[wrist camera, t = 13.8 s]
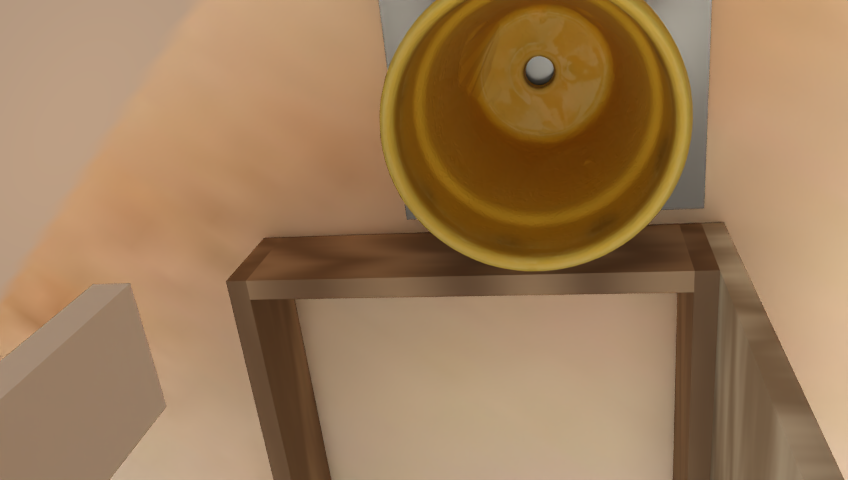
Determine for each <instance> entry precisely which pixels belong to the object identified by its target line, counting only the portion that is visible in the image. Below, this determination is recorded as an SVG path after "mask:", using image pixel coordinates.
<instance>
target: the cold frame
mask: <svg viewBox="0 0 848 480" xmlns="http://www.w3.org/2000/svg"><path fill="white" fill-rule="evenodd" d="M226 283H227V288H228V292H229V296H230V300H231V304H232V308H233V313H234V317H235V321H236V325H237V329H238V333H239V338H240V342H241V346H242V350H243V354H244V358H245V363H246V367H247V371H248V375H249V379H250V383H251V387H252V392H253V396H254V400H255V404H256V408H257V412H258V417H259V421H260V425H261V429H262V433H263V437H264V442H265V446H266V450H267V454H268V458H269V462H270V467H271V471H272V475H273V479H274V480H331V477H330V472H329V467H328V462H327V457H326V452H325V447H324V443H323V438H322V433H321V428H320V423H319V418H318V413H317V408H316V403H315V398H314V393H313V388H312V383H311V378H310V373H309V368H308V363H307V358H306V354H305V349H304V344H303V339H302V334H301V329H300V324H299V319H298V314H297V309H296V304H295V299H323V298H384V297H444V296H504V295H564V294H625V293H677V334H676V376H675V417H674V459H673V480H844V478H843V476H842V474H841V472H840V470H839V467H838V465H837V463H836V461H835V459H834V457H833V455H832V452H831V450H830V448H829V446H828V444H827V442H826V440H825V437H824V435H823V433H822V431H821V429H820V427H819V425H818V423H817V420H816V418H815V416H814V414H813V412H812V410H811V408H810V405H809V403H808V401H807V399H806V397H805V395H804V393H803V391H802V388H801V386H800V384H799V382H798V380H797V378H796V376H795V373H794V371H793V369H792V367H791V365H790V363H789V361H788V359H787V356H786V354H785V352H784V350H783V348H782V346H781V344H780V341H779V339H778V337H777V335H776V333H775V331H774V329H773V326H772V324H771V322H770V320H769V318H768V316H767V314H766V312H765V309H764V307H763V305H762V303H761V301H760V299H759V297H758V294H757V292H756V290H755V288H754V286H753V284H752V282H751V280H750V277H749V275H748V273H747V271H746V269H745V267H744V265H743V262H742V260H741V258H740V256H739V254H738V252H737V250H736V248H735V245H734V243H733V241H732V239H731V237H730V235H729V233H728V230H727V228H726V226H725V224H724V223H694V224H665V225H647V226H646V227H645V228H644V229H642V230H641V231H640V232H639V233H638V234H637V235H636V236H634V237H633V238H632V239H630V240H629V241H628V242H626V243H625V244H623V245H622V246H620V247H619V248H617V249H615V250H614V251H612V252H610V253H608V254H606V255H604V256H602V257H600V258H597V259H594V260H592V261H590V262H587V263H583V264H580V265H577V266H573V267H569V268H564V269H558V270H549V271H517V270H510V269H504V268H499V267H495V266H492V265H488V264H484V263H482V262H479V261H476V260H474V259H472V258H470V257H468V256H465V255H463V254H461V253H460V252H458V251H456V250H454V249H453V248H451V247H450V246H448V245H447V244H445V243H444V242H442V241H441V240H439V239H438V238H437V237H436V236H434V235H433V234H432V233H431V232H430V233H400V234H371V235H342V236H312V237H283V238H264V239H263V240H262V241H261V242H260V244H259V245H258V246H257V247H256V248H255V249H254V250H253V251H252V253H251V254H250V255H249V256H248V257H247V258H246V259H245V260H244V262H243V263H242V264H241V265H240V266H239V267H238V268H237V269H236V271H235V272H234V273H233V274H232V275H231V276H230V277H229V279H228V280H227V281H226Z"/></svg>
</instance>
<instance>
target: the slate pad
mask: <svg viewBox="0 0 848 480" xmlns="http://www.w3.org/2000/svg"><path fill="white" fill-rule="evenodd" d="M434 1H436V0H379V8H380V16H381V23H382V31H383V39H384V47H385V54H386V62H387V70H388V68H389V65H390V63H391V60H392V58H393V56H394V54H395V52H396V50H397V48H398V46H399V44H400V43H401V41H402V40H403V38H404V36H405V35H406V33H407V32H408V30H409V29H410V28H411V26H412V25H413V24H414V22H415V21H416V20H417V18H418V17H419V16H420V15H421V14H422V13H423V12H424V11H425V10H426V9H427V8H428V7H429V6H430V5H431V4H432V3H433V2H434ZM644 1H645V2H646V3H647V4H648V5H649V6H650V7H651V8H652V9H653V11H654V12H655V13H656V14H657V15H658V17H659V18H660V19H661V21H662V22H663V24H664V25H665V26H666V28H667V29H668V31H669V33H670V34H671V36H672V38H673V40H674V42H675V43H676V45H677V47H678V49H679V52H680V54H681V56H682V59H683V62H684V65H685V67H686V71H687V74H688V78H689V82H690V87H691V95H692V103H693V125H692V135H691V142H690V147H689V151H688V155H687V159H686V162H685V166H684V169H683V171H682V174H681V176H680V178H679V180H678V183H677V185H676V187H675V188H674V190H673V192H672V194H671V196H670V197H669V199H668V200H667V201H666V203H665V204H664V206H663V207H662V209H661V210H672V209H699V208H704V197H705V171H706V144H707V118H708V91H709V64H710V38H711V11H712V0H644ZM553 74H554V67H553V64H552V62H551V61H550V60H548V59H547V58H545V57H542V56H537V57H534V58H532V59H531V60H530V61H529V62H528V63H527V66H526V77H527V79H528V80H529V81H530V82H531V83H532V84H534V85H544V84H546V83H547V82H549V81H550V79H551V78H552V76H553ZM405 208H406V216H407V220H408V219H417V218H416V217H415V216H414V215H413V213H412V212H411V211H410V210H409V208H408V207H407V205H406V204H405Z"/></svg>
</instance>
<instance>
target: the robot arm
mask: <svg viewBox="0 0 848 480" xmlns="http://www.w3.org/2000/svg"><path fill="white" fill-rule="evenodd" d="M165 408H166V403H165V400H164V396H163V393H162V389H161V386H160V383H159V379H158V376H157V372H156V369H155V366H154V362H153V359H152V356H151V352H150V349H149V345H148V342H147V339H146V335H145V332H144V328H143V325H142V322H141V318H140V315H139V311H138V308H137V305H136V301H135V298H134V294H133V291H132V288H131V284H130V283H121V284H93V285H92V286H90V287H89V288H88V289H87V290H86V291H84V292H83V293H82V294H81V295H80V296H78V297H77V298H76V299H75V300H73V301H72V302H71V303H70V304H69V305H67V306H66V307H65V308H64V309H63V310H61V311H60V312H59V313H58V314H57V315H55V316H54V317H53V318H52V319H50V320H49V321H48V322H47V323H46V324H44V325H43V326H42V327H41V328H40V329H38V330H37V331H36V332H35V333H34V334H32V335H31V336H30V337H29V338H27V339H26V340H25V341H24V342H23V343H21V344H20V345H19V346H18V347H17V348H15V349H14V350H13V351H12V352H11V353H9V354H8V355H7V356H6V357H4V358H3V359H2V360H1V361H0V480H110V478H111V477H112V476H113V474H114V473H115V472H116V471H117V469H118V468H119V467H120V465H121V464H122V463H123V462H124V460H125V459H126V458H127V456H128V455H129V454H130V453H131V451H132V450H133V449H134V447H135V446H136V445H137V444H138V442H139V441H140V440H141V438H142V437H143V436H144V435H145V433H146V432H147V431H148V429H149V428H150V427H151V426H152V424H153V423H154V422H155V420H156V419H157V418H158V417H159V415H160V414H161V413H162V411H163V410H164V409H165Z"/></svg>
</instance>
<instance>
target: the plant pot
mask: <svg viewBox="0 0 848 480" xmlns="http://www.w3.org/2000/svg"><path fill="white" fill-rule="evenodd" d="M537 56H542V57H545V58H547V59H548V60H550V61H551V62H552V64H553V67H554V74H553V76H552V78H551V79H550V81H549V82H547V83H546V84H544V85H534V84H532V83H531V82H530V81H529V80H528V79H527V77H526V66H527V63H528V62H529V61H530V60H531V59H532V58H534V57H537ZM692 125H693V103H692V95H691V87H690V82H689V78H688V74H687V71H686V67H685V65H684V62H683V59H682V56H681V54H680V52H679V49H678V47H677V45H676V43H675V42H674V40H673V38H672V36H671V34H670V33H669V31H668V29H667V28H666V26H665V25H664V24H663V22H662V21H661V19H660V18H659V17H658V15H657V14H656V13H655V12H654V11H653V9H652V8H651V7H650V6H649V5H648V4H647V3H646V2H645V1H644V0H436V1H434V2H433V3H432V4H431V5H430V6H429V7H428V8H427V9H426V10H425V11H424V12H423V13H422V14H421V15H420V16H419V17H418V18H417V20H416V21H415V22H414V24H413V25H412V26H411V28H410V29H409V30H408V32H407V33H406V35H405V36H404V38H403V40H402V41H401V43H400V44H399V46H398V48H397V50H396V52H395V54H394V56H393V58H392V60H391V63H390V65H389V68H388V71H387V74H386V78H385V82H384V86H383V91H382V96H381V103H380V136H381V143H382V149H383V154H384V158H385V162H386V165H387V168H388V171H389V174H390V176H391V178H392V181H393V183H394V185H395V187H396V189H397V191H398V193H399V195H400V197H401V198H402V200H403V201H404V203H405V204H406V205H407V207H408V208H409V210H410V211H411V212H412V213H413V215H414V216H415V217H416V218H417V219H418V220H419V221H420V222H421V223H422V225H423V226H424V227H425V228H426V229H428V230H429V231H430V232H431V233H432V234H433V235H434V236H436V237H437V238H438V239H439V240H441V241H442V242H444V243H445V244H447V245H448V246H450V247H451V248H453V249H454V250H456V251H458V252H460V253H461V254H463V255H465V256H468V257H470V258H472V259H474V260H476V261H479V262H482V263H484V264H488V265H492V266H495V267H499V268H504V269H510V270H517V271H549V270H558V269H564V268H569V267H573V266H577V265H580V264H583V263H587V262H590V261H592V260H594V259H597V258H600V257H602V256H604V255H606V254H608V253H610V252H612V251H614V250H615V249H617V248H619V247H620V246H622V245H623V244H625V243H626V242H628V241H629V240H630V239H632V238H633V237H634V236H636V235H637V234H638V233H639V232H640V231H641V230H642V229H644V228H645V227H646V226H647V225H648V224H649V223H650V222H651V221H652V220H653V218H654V217H655V216H656V215H657V214H658V212H659V211H660V210H661V209H662V207H663V206H664V204H665V203H666V201H667V200H668V199H669V197H670V196H671V194H672V192H673V190H674V188H675V187H676V185H677V183H678V180H679V178H680V176H681V174H682V171H683V169H684V166H685V162H686V159H687V155H688V151H689V147H690V142H691V135H692Z"/></svg>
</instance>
